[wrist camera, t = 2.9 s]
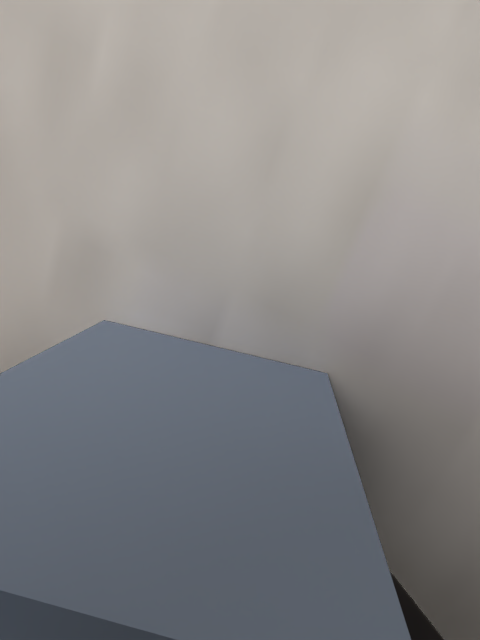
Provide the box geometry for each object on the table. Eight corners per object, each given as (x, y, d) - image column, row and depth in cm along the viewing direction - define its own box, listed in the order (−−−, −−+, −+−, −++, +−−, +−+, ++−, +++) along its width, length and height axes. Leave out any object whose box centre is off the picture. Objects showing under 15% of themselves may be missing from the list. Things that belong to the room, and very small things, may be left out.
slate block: (327, 373, 8) (433, 712, 2) (273, 559, 10) (259, 1078, 4) (104, 320, 9) (-274, 514, 3) (79, 507, 10) (-217, 916, 4)
